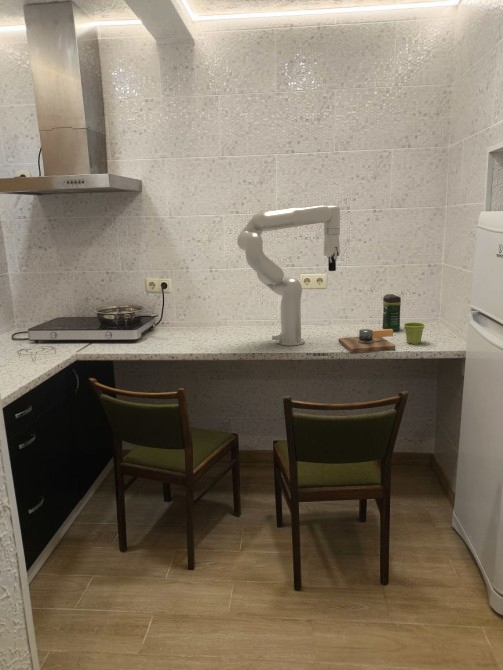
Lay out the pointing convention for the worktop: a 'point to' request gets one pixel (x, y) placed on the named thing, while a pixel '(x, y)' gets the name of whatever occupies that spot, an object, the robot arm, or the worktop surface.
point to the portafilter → (374, 334)
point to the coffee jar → (391, 312)
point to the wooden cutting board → (366, 344)
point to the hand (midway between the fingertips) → (332, 270)
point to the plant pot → (414, 332)
